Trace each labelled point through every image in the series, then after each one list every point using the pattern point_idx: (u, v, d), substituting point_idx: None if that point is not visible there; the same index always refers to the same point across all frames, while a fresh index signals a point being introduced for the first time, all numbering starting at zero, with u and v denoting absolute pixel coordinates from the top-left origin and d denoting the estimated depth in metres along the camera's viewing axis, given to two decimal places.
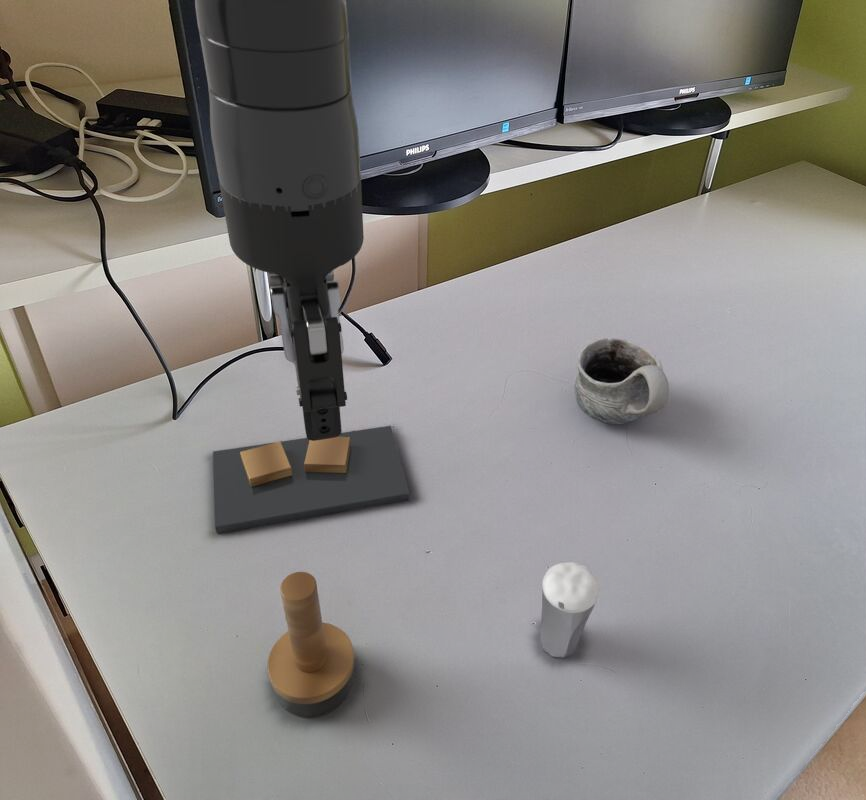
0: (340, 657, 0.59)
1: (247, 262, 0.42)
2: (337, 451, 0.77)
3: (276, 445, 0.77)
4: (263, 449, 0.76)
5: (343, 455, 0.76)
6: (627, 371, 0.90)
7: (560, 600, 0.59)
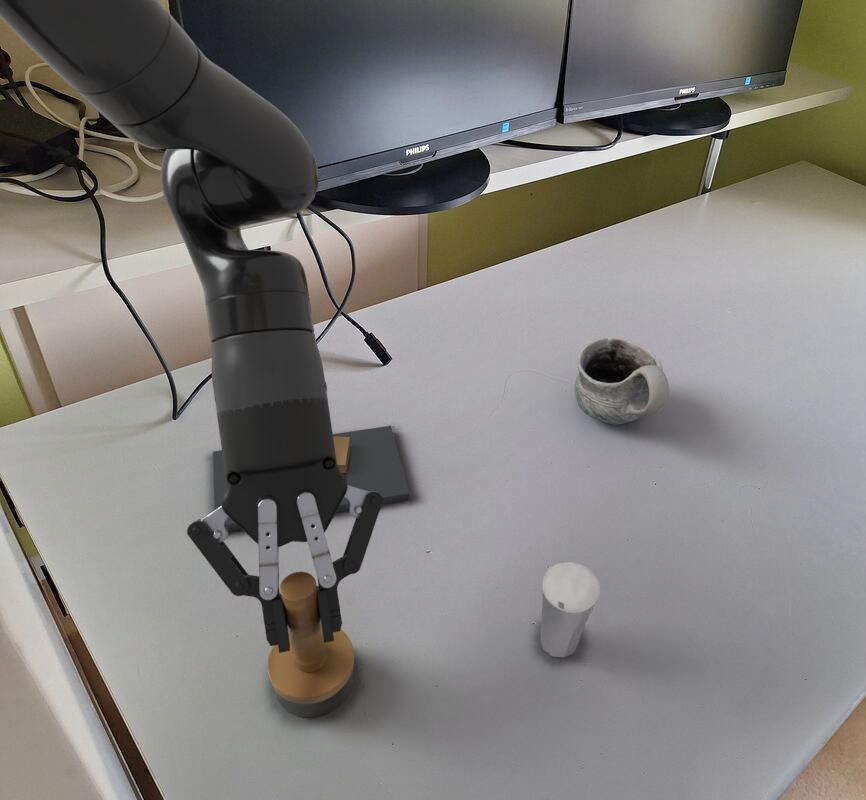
0: (340, 657, 0.59)
1: (314, 455, 0.52)
2: (337, 451, 0.77)
3: None
4: None
5: (343, 455, 0.76)
6: (628, 371, 0.90)
7: (560, 600, 0.59)
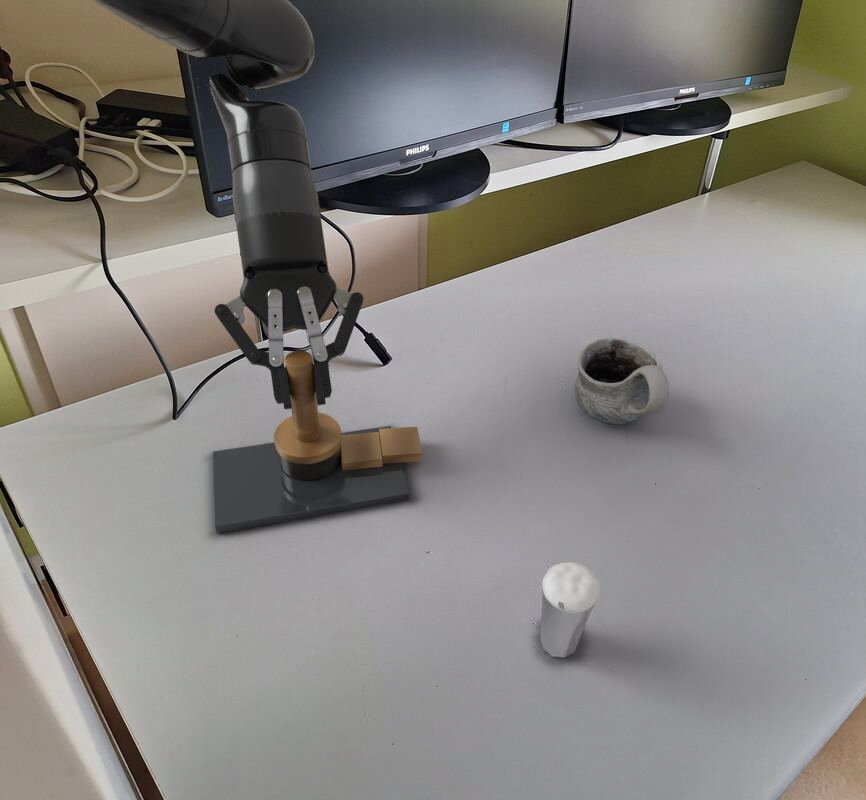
0: (330, 433, 0.75)
1: (311, 256, 0.68)
2: (410, 441, 0.79)
3: (374, 435, 0.79)
4: (361, 437, 0.79)
5: (417, 444, 0.79)
6: (627, 371, 0.90)
7: (560, 600, 0.59)
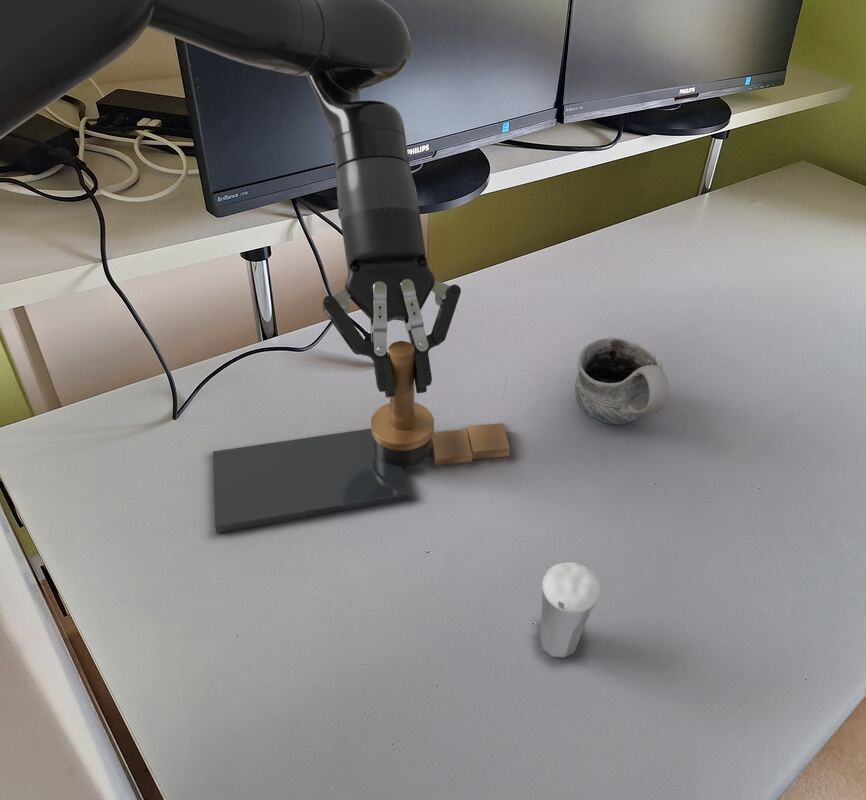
0: (424, 421, 0.78)
1: (414, 249, 0.71)
2: (497, 437, 0.82)
3: (463, 432, 0.83)
4: (451, 434, 0.82)
5: (504, 440, 0.82)
6: (627, 371, 0.90)
7: (560, 600, 0.59)
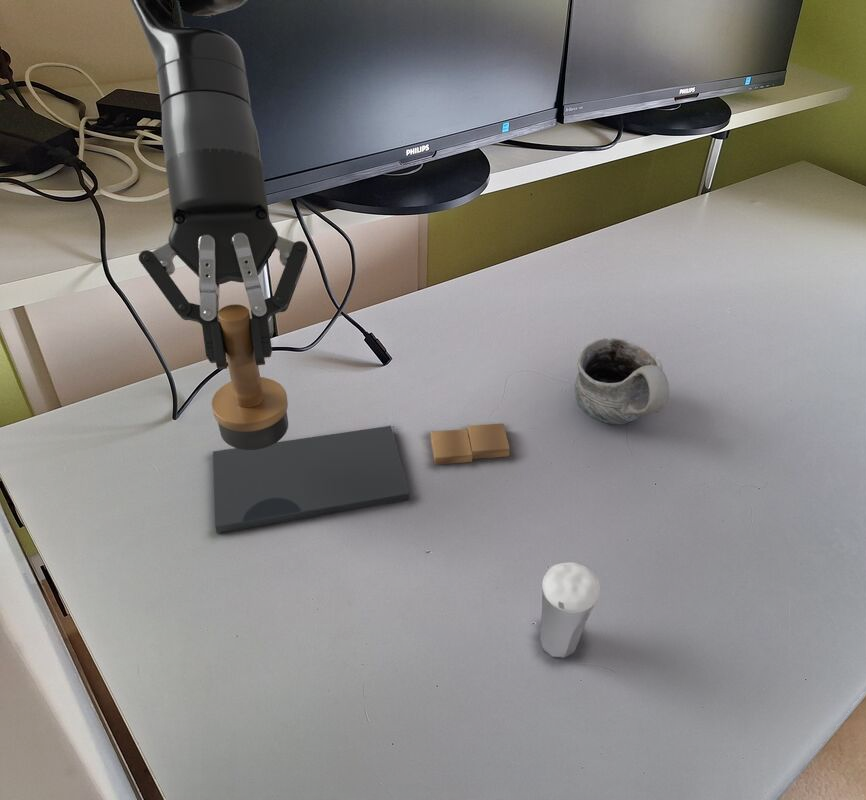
0: (275, 399, 0.69)
1: (247, 198, 0.61)
2: (497, 437, 0.82)
3: (463, 432, 0.82)
4: (451, 433, 0.82)
5: (504, 440, 0.82)
6: (627, 371, 0.90)
7: (560, 600, 0.59)
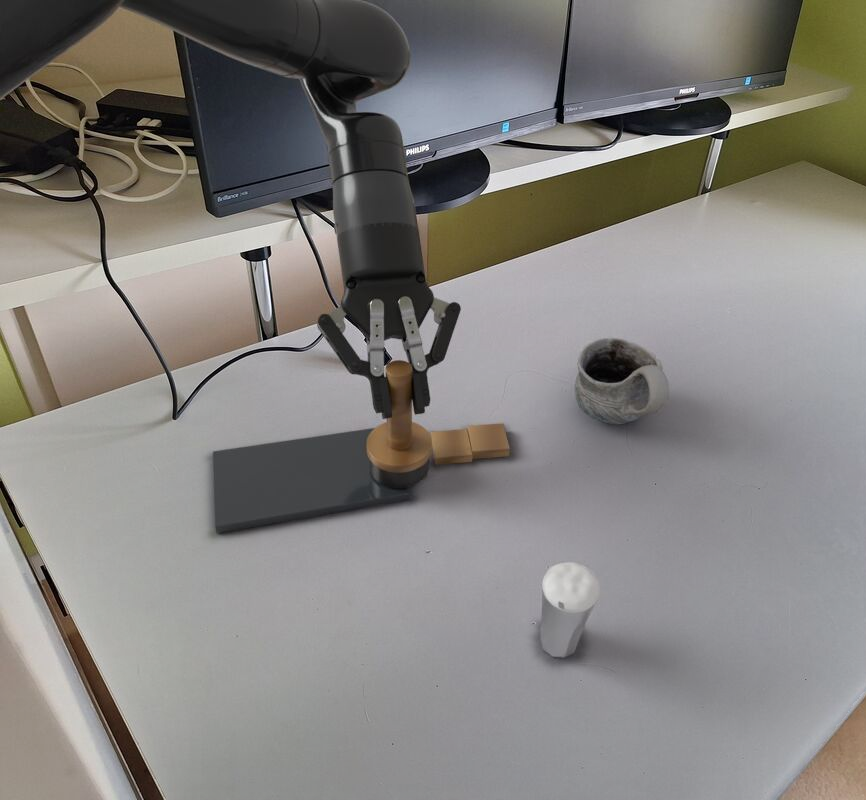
0: (422, 442, 0.76)
1: (412, 266, 0.68)
2: (497, 437, 0.82)
3: (463, 432, 0.82)
4: (451, 433, 0.82)
5: (504, 440, 0.82)
6: (627, 371, 0.90)
7: (560, 600, 0.59)
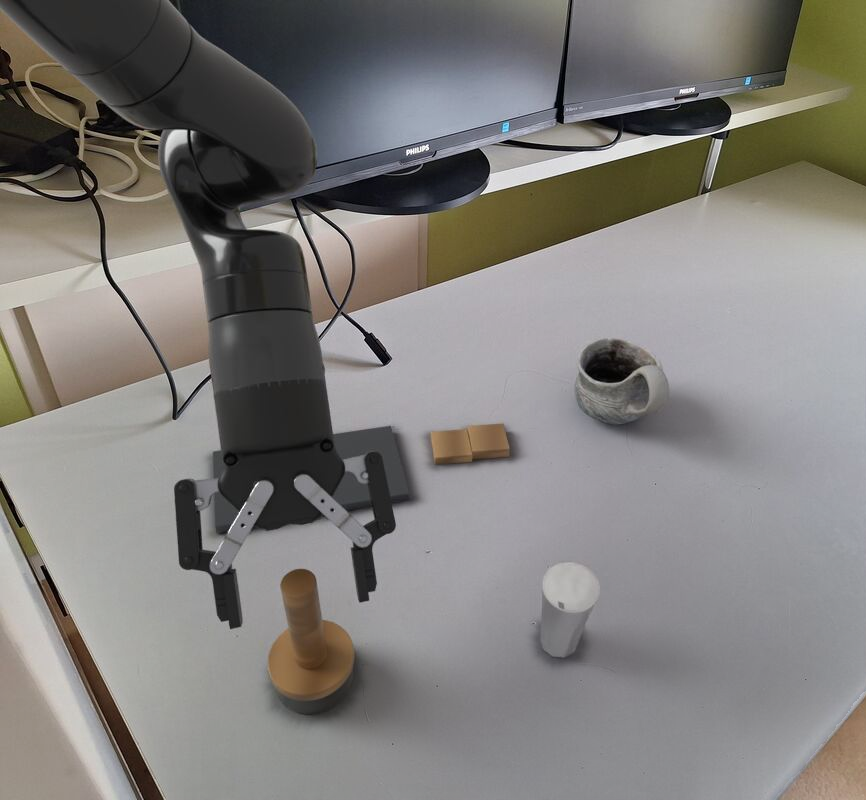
0: (340, 653, 0.59)
1: (312, 436, 0.51)
2: (497, 437, 0.82)
3: (463, 432, 0.82)
4: (451, 433, 0.82)
5: (504, 440, 0.82)
6: (627, 371, 0.90)
7: (560, 600, 0.59)
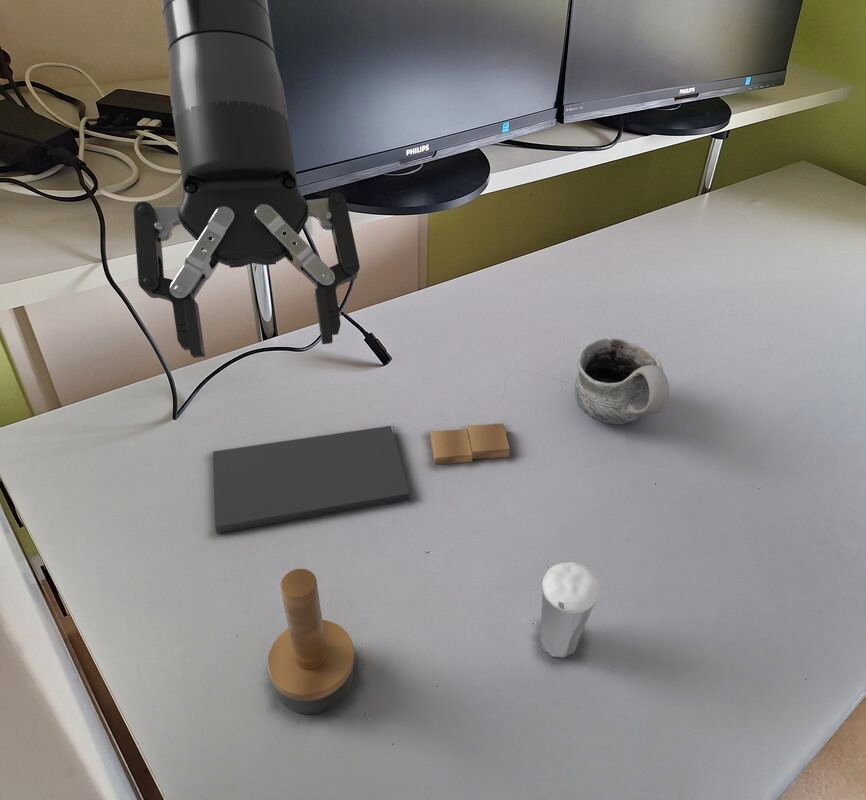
0: (340, 653, 0.59)
1: (272, 163, 0.51)
2: (497, 437, 0.82)
3: (463, 432, 0.82)
4: (451, 433, 0.82)
5: (504, 440, 0.82)
6: (627, 371, 0.90)
7: (560, 600, 0.59)
